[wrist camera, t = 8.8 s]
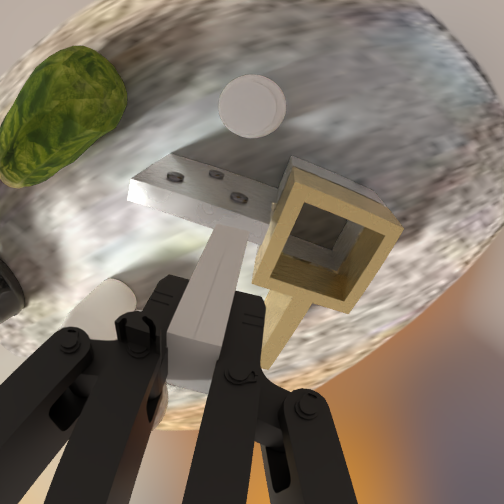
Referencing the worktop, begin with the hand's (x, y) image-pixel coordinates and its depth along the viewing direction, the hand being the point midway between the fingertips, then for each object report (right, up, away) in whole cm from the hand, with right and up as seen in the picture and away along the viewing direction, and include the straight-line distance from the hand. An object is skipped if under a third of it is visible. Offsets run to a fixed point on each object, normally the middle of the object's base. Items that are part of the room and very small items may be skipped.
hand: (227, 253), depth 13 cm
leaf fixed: (+2, +6, +18) cm, 19 cm away
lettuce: (-21, +17, +15) cm, 31 cm away
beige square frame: (+6, 0, +21) cm, 22 cm away
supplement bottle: (+2, +15, +13) cm, 20 cm away
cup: (-20, -7, +29) cm, 35 cm away
